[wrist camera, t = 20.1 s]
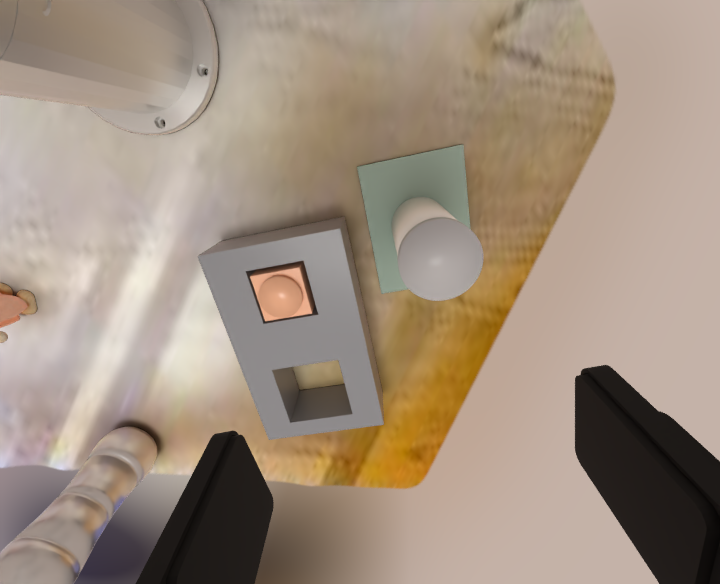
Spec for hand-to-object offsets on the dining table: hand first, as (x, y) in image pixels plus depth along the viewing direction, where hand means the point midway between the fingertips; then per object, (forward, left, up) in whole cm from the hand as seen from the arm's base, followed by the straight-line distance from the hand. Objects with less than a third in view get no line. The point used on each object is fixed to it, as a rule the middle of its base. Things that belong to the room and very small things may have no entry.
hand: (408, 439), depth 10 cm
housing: (+8, -9, -25) cm, 28 cm away
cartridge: (0, +3, -25) cm, 25 cm away
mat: (0, +3, -25) cm, 25 cm away
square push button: (+2, -9, -25) cm, 26 cm away
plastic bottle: (+20, -34, -25) cm, 47 cm away
